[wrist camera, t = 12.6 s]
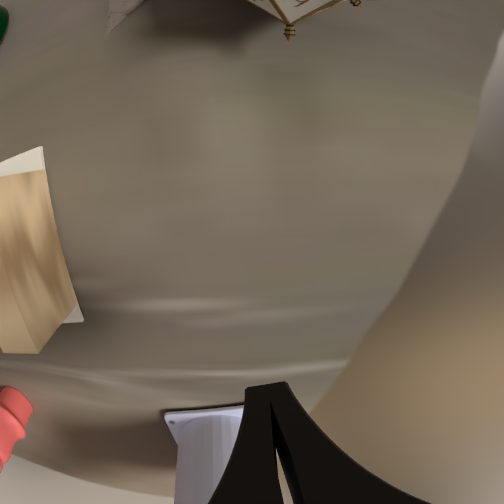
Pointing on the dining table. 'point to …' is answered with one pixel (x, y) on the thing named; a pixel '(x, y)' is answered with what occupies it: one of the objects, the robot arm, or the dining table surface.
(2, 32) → the soda can
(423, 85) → the dining table surface
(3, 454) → the figurine
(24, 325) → the wooden block
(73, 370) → the dining table surface
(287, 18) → the game die
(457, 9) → the dining table surface
